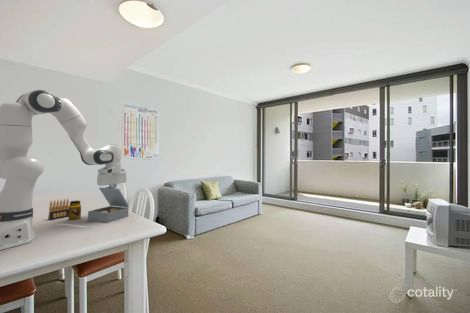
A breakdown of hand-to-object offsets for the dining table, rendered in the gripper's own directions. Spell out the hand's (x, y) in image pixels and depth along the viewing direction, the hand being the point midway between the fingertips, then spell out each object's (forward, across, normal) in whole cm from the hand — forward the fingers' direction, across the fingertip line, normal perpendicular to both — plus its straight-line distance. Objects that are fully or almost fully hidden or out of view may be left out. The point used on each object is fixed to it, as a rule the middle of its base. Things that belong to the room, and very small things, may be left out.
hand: (112, 191), depth 138 cm
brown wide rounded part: (+17, +6, 0) cm, 18 cm away
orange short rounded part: (+17, -1, 0) cm, 17 cm away
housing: (+18, +3, 0) cm, 18 cm away
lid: (+5, -1, 0) cm, 5 cm away
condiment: (+18, +11, -19) cm, 28 cm away
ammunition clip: (+18, +10, -32) cm, 38 cm away
